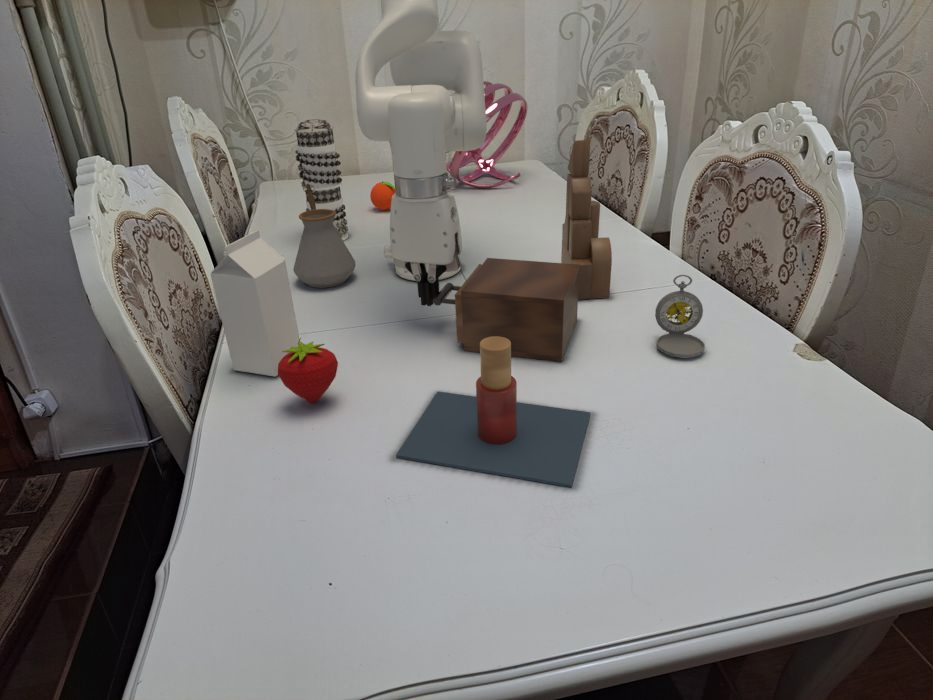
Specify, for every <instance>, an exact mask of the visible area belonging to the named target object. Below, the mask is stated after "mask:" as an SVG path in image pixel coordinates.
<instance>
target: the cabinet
mask: <svg viewBox="0 0 933 700" xmlns="http://www.w3.org/2000/svg"><path fill="white" fill-rule="evenodd" d="M481 264H482V265H481V267H480V268H479V269H478V270H477V272H476V273H475V274H474V275H473V277H472V278H471V279H470V280H469V282H468V283H467V284H466V285H465V287H464V288H463V289H462V290H461V301H462V323H463V343H462V345H463V351H465V352H474V353H480V342H481V341H482V340H483V339H485V338H487V337H492V336H500V337H505V338H507V339H509V340H510V342H511V357H518V358H525V359H532V360H533V359H534V360H542V361H551V362H558V363H559V362H560V363H562V362H563V360H564V357H565V355H566V352H567V348H568V346H569V343H570V340H571V338H572V336H573V333H574V330H575V327H576V325H577V322H578V309H579V308H578V307H579V306H578V305H579V300H578V288H579V267H580V265H579V264H565V263H561V262H549V261H536V260H524V259H523V260H522V259H508V258H496V257H492V258H491V257H487V258H485V260H484V261H483V263H481Z"/></svg>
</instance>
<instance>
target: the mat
mask: <svg viewBox="0 0 933 700" xmlns="http://www.w3.org/2000/svg"><path fill="white" fill-rule="evenodd" d="M590 417H591V411H583V410H577V409H570V408H560V407H554V406H547V405H546V406H545V405H539V404H533V403H532V404H531V403H527V402H526V403H524V402H519V401H517V434H516V436H515V438H514V439H513V440H512V441H510V442H508V443H504V444H490V443H487V442H484V441H483V440H481V439H480V438H479V436H478V426H477V399H476V395H475V396H474V395H466V394H460V393H459V394H458V393H452V392H445V391H436V393H435V394H434V396H433V398H432V399H431V400H430V402H429V404H428V406H427V407H426V408H425V410H424V411H423V413H422V414H421V416H420V418H419V419H418V421H417V422H416V424H415V425H414V427H413V428H412V430H411V431H410V433H409V435H408V436H407V437H406V439H405V440H404V442H403V444H402V445H401V446H400V449H399V450H398V451H397V453H396V454H395V457H396V458H397V459H402V460H409V461H413V462H414V461H415V462H420V463H426V464H432V465H437V466H444V467H450V468H456V469H461V470H466V471H473V472H477V473H478V472H479V473H484V474H490V475H496V476H503V477H509V478H515V479H520V480H524V481H532V482H538V483H541V484H542V483H543V484H548V485H549V484H550V485H554V486H559V487H560V486H561V487H566V488H573V483H574V480H575V476H576V472H577V468H578V465H579V459H580V457H581V452H582V448H583V444H584V440H585V436H586V433H587V429H588V424H589V421H590Z"/></svg>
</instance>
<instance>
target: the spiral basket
mask: <svg viewBox="0 0 933 700" xmlns="http://www.w3.org/2000/svg"><path fill="white" fill-rule="evenodd" d="M483 83H484V96H485V109H486V124H488V122H489V121H490V120H491V119H492V118H494V116H495V115H497V116H496V118H495V120H494V122H493V124H492V125H491V126H490V128H489V129H488V131H486V139H485V142H484V144H483V145H482V146H481V147H480V148H478V149H475V150H469V151H454V154H453V157H452V160H451V161H446V168H447V172H448V174H449V175H450V176H451V177H452V178H453V179H456V181H457V182H459V183H461V184H463V185H465V186H468V187H471V188H475V189H492V188H497V187H500V186H502V185H506V184H507V183H509V182H511V181H515V180H516V179H518V178H520V177H521V175H522V173H521V172H518V173H517V174H515V175H511V174H510V175H509V174H506V173H504V172H502V171H500V170H499V169H497V168H496V167H495V165H496V163H498V161H499V160H500V159H501V158H502V157H503V156H504V155H505V153H506V152H507V151H508V150H509V148H510V147H511V146H512V144H513V142H514V141H515V140H516V138H517V137H518V134H519V133H520V131H521V130H522V128H523V125H524V123H525V121H526V118H527V114H528V103H527V100H526V98H524V96H523V95H521V94H520V93H517V92H513V90H512V89H511V87H510V86H509V85H507V84H505V83H500V82H499V83H492V82H490V81H486V80H483ZM501 89H503V91H504V95H503V96H501V97H500V98H498V99H496V100H495V96H496V91H498V90H501ZM453 94H457V93H456V92H455V91H454V92H453ZM518 101H519V102H520V107H519V110H518V113H517V114H518V115H517V117H516V119H515V122H514V123H513V125H512V126H511V129H510V131H508V134H507V135H506V136H505V138H504V139H503V141H502V142H501V144H500V145H499V146H498V148H497V149H496V150H495V151H494V152H493V153H492V154H491V156H489V157H487V158H483V156H482V153H483V152H484V151H485V149H486V148H487V147H489V145H490V144H491V143H492V141H493V140H494V139H495V138H496V137H497V135H498V133H499V132H500V130H501V129H502V127H503V125H504V124H505V122H506V120H507V119H508V117H509V114H510V111H511V109H512V106H513V103H514V102H518ZM448 153H449V152H446V154H448ZM470 163H475V165H477V168H475V169H474V170H472V171H471V172H469V173H467V174H465V175H462V176H460V175H459V174H460V173H459V172H460V169H462V168H464V167H465V166H467V165H468V164H470ZM485 174H486V175H487V174H488V175H490V176H492V177H494V178H496V179H499V180H501V181H499V182H495V183H489V184H487V183H486V184H480V183H479V184H478V183H473V181H474V180H477V179H478V178H480V177H481V176H483V175H485Z"/></svg>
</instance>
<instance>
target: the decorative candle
mask: <svg viewBox="0 0 933 700" xmlns="http://www.w3.org/2000/svg"><path fill="white" fill-rule="evenodd" d="M333 129H335V127H334V126H332V125H331V124H330V123H329V121H327V120H326V119H320V118H319V119H318V118H317V119H316V118H314V119H306V120H302V121H300V122H299V123H298V125H297V128H296V129H294V132H295V135H296V142H297V146H296V147H297V150H295V151H294V153H295V154H296V155H295V160H296V161H297V162H298V163H299V164H298V165H297V168H298V171H299V173H298V174H299V178H300V179H302V182H301V188H303V187H304V186H305V185H307V184H309V185H313V186H314V187H315V189H314V187H313V186H311V189H312V190H314V191H313V193H312V194H313V196H314V199H315V205H316V209H329V210H333V211H336V212H337V213H336V215H335V217H334V220H333V225H334V227H335V228H336V230H337V232H338V233H339V235H340V237H341V238H342V240H343V241H346V240H347V239H348V238H349V233H348V231H349V227H348V226H347V225H348V220H347V219H346V218H345V217H347V212H346V211H344V210H346V205H345V204H344V202H343V196H342V192H341V186H342V181H343V179H342V177H340V176H341V175H342V171H341V170H339V169H338V167H339V166H340V165H341V164H342V162H341V161H340V160H338V159H339V158H340V157H341V154H339V153H338V152H336V149H337V148H336V142H335V139H334V138H335V137H334V132H333ZM306 190H307V188H306V186H305V187H304V192H305V191H306ZM305 198H306V200H305V204H306V208H305V211H309V210H311V208H310V204H309V201H308V194H307V192H305Z"/></svg>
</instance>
